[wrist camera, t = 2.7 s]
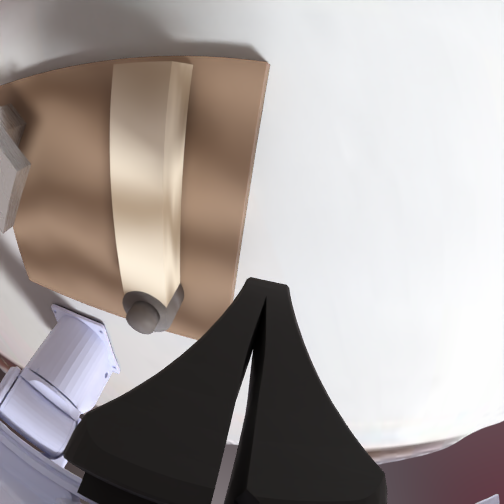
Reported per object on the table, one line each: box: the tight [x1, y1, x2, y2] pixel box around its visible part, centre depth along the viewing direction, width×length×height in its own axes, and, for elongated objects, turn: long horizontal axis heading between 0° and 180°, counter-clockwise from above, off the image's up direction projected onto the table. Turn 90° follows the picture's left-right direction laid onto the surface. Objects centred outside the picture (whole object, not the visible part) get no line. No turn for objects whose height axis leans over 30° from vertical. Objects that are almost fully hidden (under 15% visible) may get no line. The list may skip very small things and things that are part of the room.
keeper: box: [0, 103, 31, 233], centre depth 13 cm, size 8×6×5 cm
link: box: [110, 61, 193, 334], centre depth 14 cm, size 16×4×4 cm, turn 172°
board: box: [0, 56, 270, 340], centre depth 18 cm, size 20×22×2 cm
